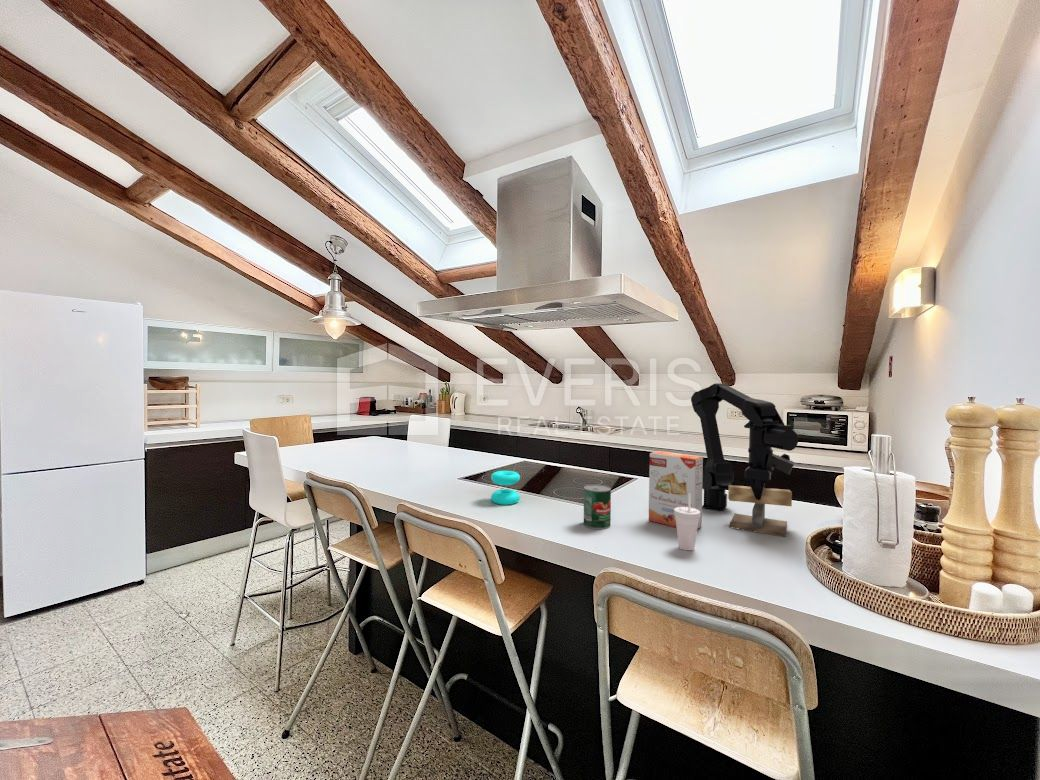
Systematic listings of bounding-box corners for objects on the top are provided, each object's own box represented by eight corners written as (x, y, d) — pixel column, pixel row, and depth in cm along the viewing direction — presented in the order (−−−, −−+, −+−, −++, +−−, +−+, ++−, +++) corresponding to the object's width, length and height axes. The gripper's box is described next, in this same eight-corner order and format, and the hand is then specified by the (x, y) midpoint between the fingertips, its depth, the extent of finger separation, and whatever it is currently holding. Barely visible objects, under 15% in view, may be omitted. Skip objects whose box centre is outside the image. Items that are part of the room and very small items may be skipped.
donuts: (492, 469, 159) (520, 469, 159) (492, 497, 159) (519, 497, 159) (489, 476, 149) (519, 476, 149) (489, 505, 149) (519, 505, 149)
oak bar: (729, 500, 131) (729, 487, 131) (728, 498, 134) (728, 484, 134) (791, 506, 126) (791, 492, 126) (789, 503, 129) (789, 489, 128)
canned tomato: (590, 518, 136) (591, 483, 136) (615, 523, 131) (615, 486, 131) (578, 525, 129) (578, 488, 129) (603, 531, 125) (604, 492, 125)
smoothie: (697, 554, 109) (698, 498, 108) (670, 549, 112) (671, 494, 112) (702, 546, 114) (703, 492, 114) (676, 541, 117) (677, 488, 117)
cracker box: (647, 521, 134) (648, 452, 133) (656, 516, 138) (657, 449, 137) (694, 532, 124) (695, 458, 124) (702, 527, 129) (703, 455, 128)
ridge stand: (729, 527, 129) (729, 506, 129) (734, 516, 139) (735, 497, 139) (785, 537, 121) (786, 515, 121) (786, 524, 131) (787, 504, 131)
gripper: (792, 452, 117) (790, 511, 118) (793, 443, 133) (791, 495, 133) (744, 448, 123) (743, 504, 124) (751, 440, 139) (750, 489, 139)
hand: (758, 498), depth 130 cm, fingers closed on oak bar, 3 cm apart
